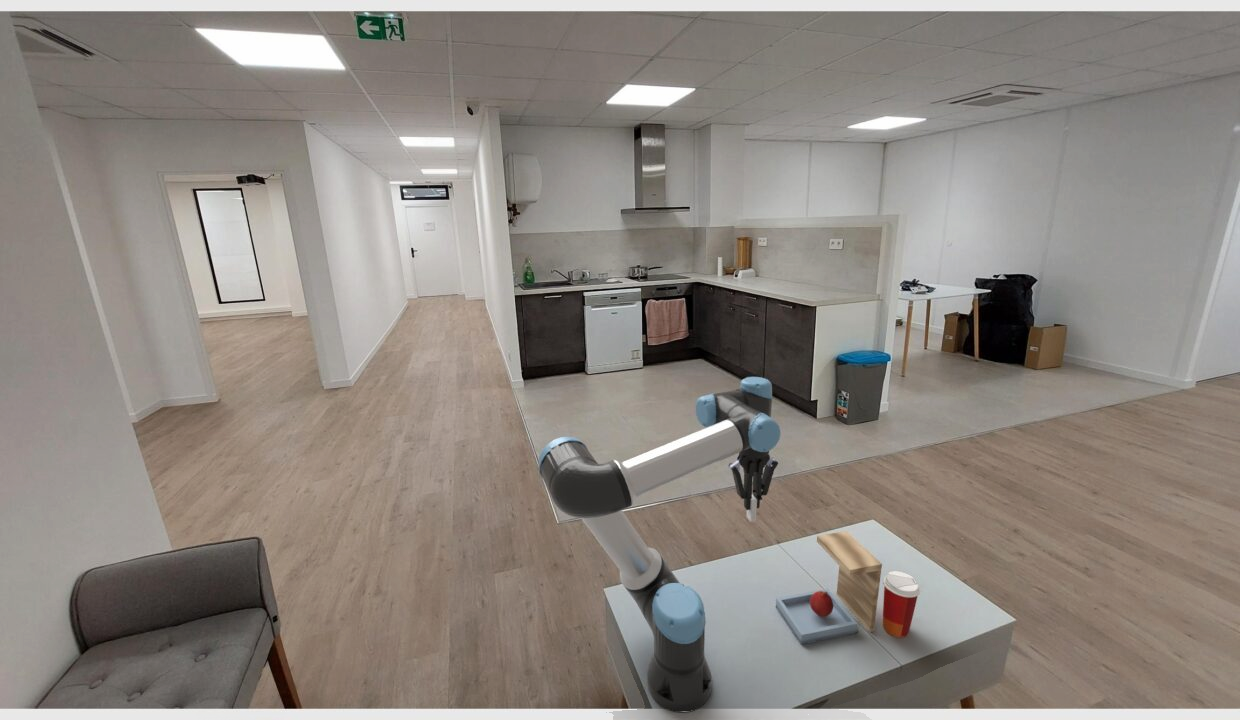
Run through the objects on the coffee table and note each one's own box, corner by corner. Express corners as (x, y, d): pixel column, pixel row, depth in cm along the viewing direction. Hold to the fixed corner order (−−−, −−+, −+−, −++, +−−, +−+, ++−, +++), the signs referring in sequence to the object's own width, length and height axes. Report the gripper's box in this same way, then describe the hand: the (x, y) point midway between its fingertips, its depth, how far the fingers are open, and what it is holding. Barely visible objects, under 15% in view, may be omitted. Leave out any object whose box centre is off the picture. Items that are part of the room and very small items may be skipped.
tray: (800, 644, 124) (801, 635, 123) (775, 606, 136) (776, 598, 135) (856, 632, 127) (857, 623, 126) (827, 597, 139) (827, 588, 138)
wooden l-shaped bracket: (842, 637, 125) (849, 569, 120) (812, 598, 139) (817, 536, 133) (873, 631, 127) (882, 564, 121) (840, 593, 140) (846, 531, 135)
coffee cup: (904, 617, 131) (911, 570, 127) (919, 642, 123) (927, 593, 119) (872, 615, 132) (877, 569, 128) (885, 640, 124) (891, 592, 120)
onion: (815, 604, 135) (819, 579, 133) (835, 616, 131) (839, 591, 129) (804, 614, 132) (807, 589, 130) (824, 627, 127) (828, 601, 125)
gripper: (736, 446, 118) (734, 530, 124) (785, 440, 120) (780, 523, 127) (724, 434, 125) (722, 514, 131) (770, 428, 127) (767, 507, 134)
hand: (751, 518), depth 129 cm, fingers closed
